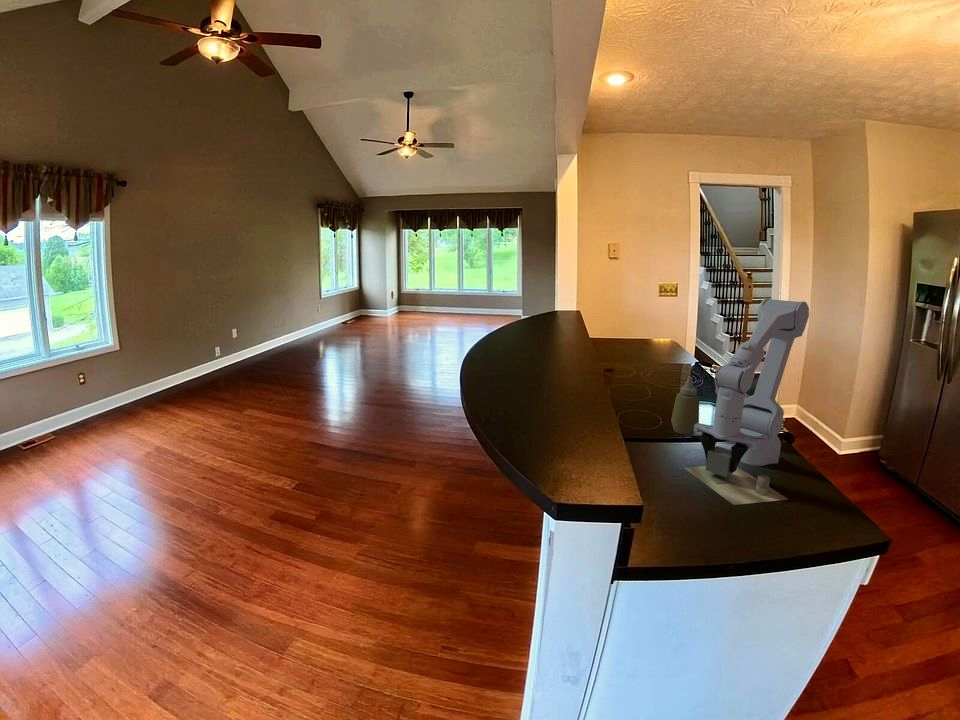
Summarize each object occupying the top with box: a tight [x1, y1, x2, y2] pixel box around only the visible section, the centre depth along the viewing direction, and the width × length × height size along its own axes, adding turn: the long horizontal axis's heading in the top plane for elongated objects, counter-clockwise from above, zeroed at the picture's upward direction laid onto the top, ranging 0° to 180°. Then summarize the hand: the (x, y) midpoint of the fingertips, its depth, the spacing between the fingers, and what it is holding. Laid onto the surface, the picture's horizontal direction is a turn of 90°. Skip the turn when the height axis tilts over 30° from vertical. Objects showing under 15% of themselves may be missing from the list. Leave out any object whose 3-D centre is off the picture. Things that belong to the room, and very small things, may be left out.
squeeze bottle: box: [670, 375, 700, 436], centre depth 146 cm, size 8×8×18 cm
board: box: [684, 465, 789, 506], centre depth 113 cm, size 14×18×6 cm
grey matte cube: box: [705, 445, 732, 477], centre depth 115 cm, size 5×5×5 cm
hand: (720, 467), depth 115 cm, fingers closed on grey matte cube, 5 cm apart
